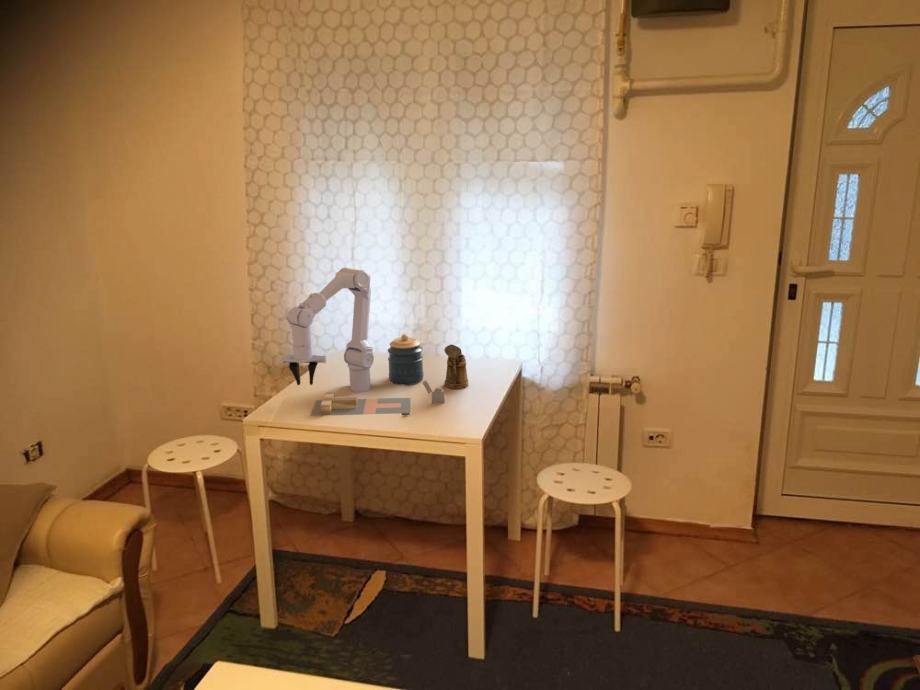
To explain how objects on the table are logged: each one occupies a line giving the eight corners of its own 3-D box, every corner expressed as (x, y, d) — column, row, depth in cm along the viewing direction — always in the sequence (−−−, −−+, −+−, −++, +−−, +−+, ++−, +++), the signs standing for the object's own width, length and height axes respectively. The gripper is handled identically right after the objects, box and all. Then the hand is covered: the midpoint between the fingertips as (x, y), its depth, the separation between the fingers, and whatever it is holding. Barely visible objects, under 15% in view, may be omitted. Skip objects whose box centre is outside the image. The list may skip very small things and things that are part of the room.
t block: (326, 401, 235) (325, 392, 234) (358, 400, 236) (358, 391, 235) (321, 414, 224) (320, 405, 223) (355, 413, 224) (354, 404, 223)
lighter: (444, 401, 236) (443, 379, 234) (444, 403, 235) (443, 381, 232) (423, 402, 236) (422, 380, 233) (423, 404, 234) (422, 381, 232)
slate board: (316, 403, 236) (316, 400, 236) (410, 400, 238) (410, 397, 237) (310, 418, 223) (309, 415, 223) (409, 415, 224) (409, 412, 224)
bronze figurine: (439, 393, 244) (438, 344, 239) (447, 380, 257) (446, 334, 252) (464, 394, 243) (463, 345, 238) (470, 381, 255) (470, 334, 250)
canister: (409, 387, 250) (407, 340, 245) (381, 381, 257) (379, 335, 252) (430, 377, 260) (429, 332, 255) (403, 372, 267) (401, 328, 262)
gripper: (276, 348, 219) (280, 388, 223) (322, 347, 220) (325, 387, 223) (281, 342, 226) (284, 381, 229) (325, 341, 226) (328, 380, 230)
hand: (305, 384), depth 227 cm, fingers open, 3 cm apart
